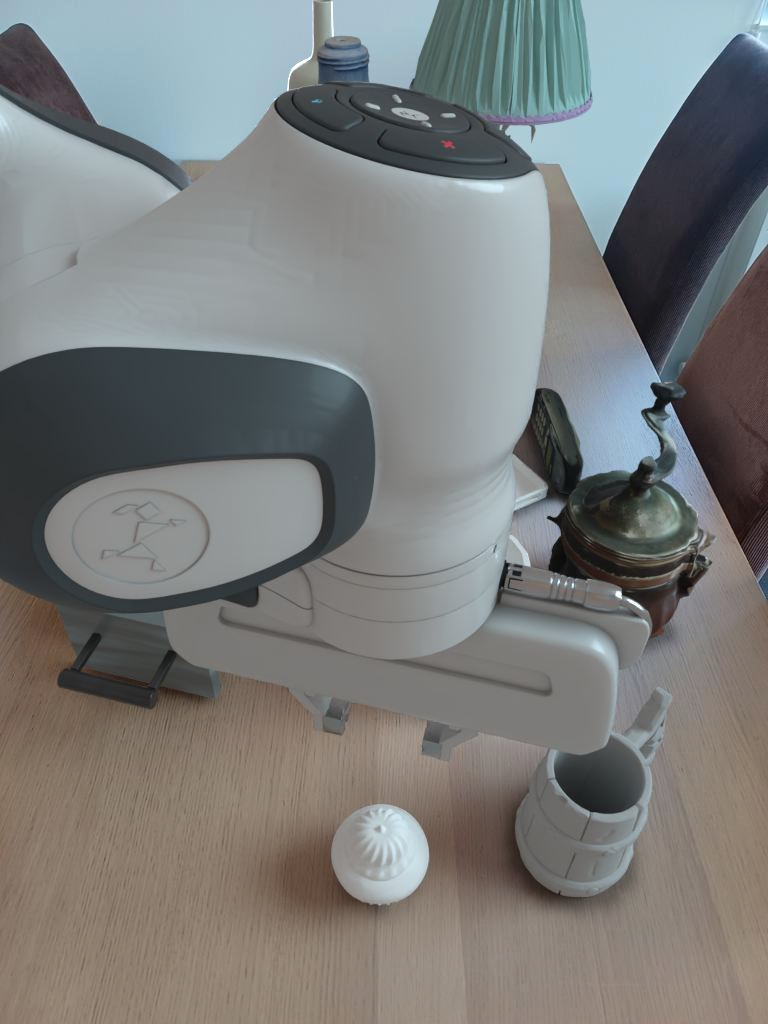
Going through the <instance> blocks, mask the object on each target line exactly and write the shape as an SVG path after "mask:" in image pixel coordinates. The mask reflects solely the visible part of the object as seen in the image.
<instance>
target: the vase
mask: <svg viewBox="0 0 768 1024" xmlns="http://www.w3.org/2000/svg"><path fill="white" fill-rule="evenodd" d="M333 14H334V13H333V0H312V53H311V55H310V57H308V58H306V59H304V60H303V61H300V62H298V63H296V65H294V66H293V67H292V68H291V71H290V73H289V76H288V81H287V91H289V90H291V89H295V88H300V87H305V86H311V85H317V84H318V61H317V52H318V48H319V47H321V46H322V45H324V41H325V39H328V38H330V37H333V36H334V15H333Z"/></svg>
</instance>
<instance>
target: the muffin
mask: <svg viewBox="0 0 768 1024" xmlns="http://www.w3.org/2000/svg"><path fill="white" fill-rule="evenodd" d="M330 858H331V864H332V869H333V871H334V873H335V876H336V878H337V880H338V882H339V883H340V885H341V886H342V887H343V889H344V890H345V891H346V892H347V893H348V894H349V896H351V897H352V898H354V899H356V900H358V901H361V903H366V904H369V905H370V906H373V905H377V906H379V907H380V906H382V905H387V906H390V904H393V903H398V902H399V901H401V900H404V899H406V898H407V897H408V896H410V895H411V894H412V893H414V892H415V891H416V890H417V888H418V887H419V886H420V885H421V883H422V881H423V880H424V878H425V876H426V873H427V870H428V868H429V864H430V848H429V842H428V839H427V836H426V834H425V832H424V830H423V828H422V826H421V825H420V823H419V822H418V820H417V819H416V818H415V817H413V815H412V814H411V813H409V812H408V811H406V810H404V809H403V808H401V807H399V806H395V805H391V804H385V803H376V804H370V805H367V806H364V807H361V808H359V809H357V810H355V811H353V812H352V813H350V814H349V815H348V816H347V817H345V818H344V820H343V821H342V822H341V823H340V825H339V826H338V828H337V829H336V831H335V834H334V835H333V839H332V843H331V849H330Z"/></svg>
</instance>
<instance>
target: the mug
mask: <svg viewBox="0 0 768 1024" xmlns="http://www.w3.org/2000/svg"><path fill="white" fill-rule="evenodd" d="M672 702H673V695H672V694H671V693H669V692H668V691H666V690H665V689H663V688H662V687H661V686H656V687H654V689H653V691H652V693H651V694H650V697H649V699H648V700H647V701H646V703H644V705H642V707H641V708H640V710H639V712H638V713H637V716H636V718H635V719H634V721H633V722H632V724H631V726H629V727H628V728H627V729H626V730H625V731H624V732H622V733H619V732H617V731H615V730H613V729H612V730H611V733H610V737H609V740H608V743H607V744H606V746H605V747H603V748H601V749H599V750H597V751H594V752H591V753H588V754H584V755H575V754H570V753H566V752H562V751H558V750H554V749H550V748H547V751H546V753H545V755H544V756H543V757H542V758H541V759H540V761H539V762H538V764H537V765H536V767H535V768H534V771H533V772H532V773H531V775H530V777H529V780H528V781H529V784H528V785H529V791H528V792H527V794H526V795H525V796H524V798H523V799H522V801H521V803H520V805H519V807H518V808H517V809H516V813H515V817H516V818H515V823H514V824H515V825H514V831H515V832H514V833H515V839H516V844H517V849H518V850H519V855H520V858H521V861H522V863H523V865H524V867H525V868H526V869H527V871H528V872H529V873H530V874H531V876H532V877H533V878H534V879H535V881H537V882H538V883H539V884H540V885H542V886H543V887H544V888H546V889H547V890H549V891H551V892H552V893H555V894H557V895H558V894H559V895H560V896H563V897H571V898H589V897H593V896H597V895H599V894H601V893H602V892H604V891H607V890H609V888H610V887H612V886H613V885H615V884H616V883H618V881H619V880H621V878H622V877H623V876H624V875H625V873H626V872H627V870H628V868H629V865H630V863H631V860H632V859H633V857H634V852H635V851H634V843H635V841H636V840H637V839H638V838H639V836H640V834H641V833H642V831H643V829H644V827H645V825H646V823H647V821H648V818H649V807H648V804H649V803H650V800H651V796H652V792H653V774H652V770H651V768H650V765H651V763H652V762H653V760H654V758H655V755H656V751H657V750H658V749H659V748H660V746H661V744H662V742H663V740H664V732H665V730H666V721H667V711H668V709H669V707H670V705H671V703H672Z"/></svg>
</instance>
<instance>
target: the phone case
mask: <svg viewBox="0 0 768 1024" xmlns="http://www.w3.org/2000/svg"><path fill="white" fill-rule="evenodd" d="M512 465H513V469H514V475H515V481H516V501H515V507H514V512H516V511H518V510H520V509H523V508H524V507H527V506H529V505H531V504H534V503H536V502H539V501H540V500H542V499H545V498H547V494H548V489H549V485H548V484H547V482H546V481H545V480H544V479H543V478H542V477H541V476H539V475H538V474H537V473H536V472H535V471H533V470H532V469H531V468H530V467H529V466H528V465H527V464H526V463H524V462H523V461H522V460H521V459H520V458H519V457H517V456H516V455H515V454H514V453H512Z"/></svg>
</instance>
